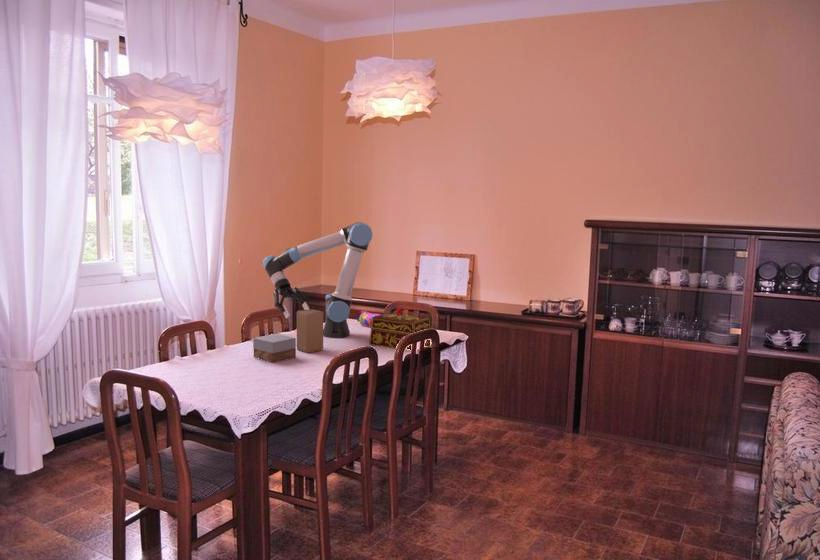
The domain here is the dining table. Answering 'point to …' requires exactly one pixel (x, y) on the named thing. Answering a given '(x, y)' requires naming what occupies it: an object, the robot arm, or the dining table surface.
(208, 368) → the dining table surface
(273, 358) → the tower base block
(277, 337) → the tower top block
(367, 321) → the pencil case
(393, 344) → the decorative box
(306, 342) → the wooden block
